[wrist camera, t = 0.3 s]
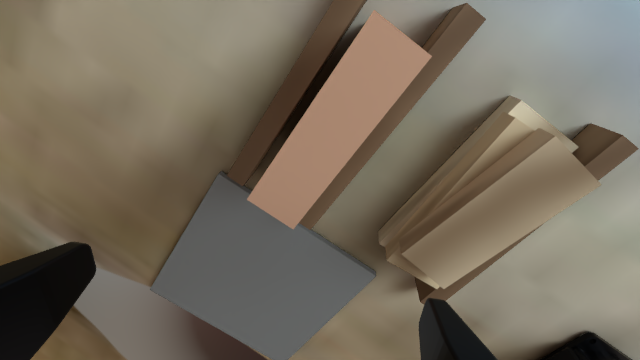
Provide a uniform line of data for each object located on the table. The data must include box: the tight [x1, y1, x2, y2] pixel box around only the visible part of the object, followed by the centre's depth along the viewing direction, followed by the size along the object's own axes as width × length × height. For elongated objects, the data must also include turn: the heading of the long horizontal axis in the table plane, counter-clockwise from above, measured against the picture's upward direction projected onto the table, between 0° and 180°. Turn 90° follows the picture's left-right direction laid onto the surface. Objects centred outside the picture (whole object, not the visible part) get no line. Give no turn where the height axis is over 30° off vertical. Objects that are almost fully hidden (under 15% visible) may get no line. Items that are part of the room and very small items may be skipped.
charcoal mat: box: [150, 171, 376, 360], centre depth 26 cm, size 14×14×1 cm
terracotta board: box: [247, 10, 432, 229], centre depth 16 cm, size 2×9×8 cm, turn 145°
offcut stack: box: [378, 96, 601, 289], centre depth 19 cm, size 5×12×4 cm, turn 146°
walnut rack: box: [227, 0, 638, 305], centre depth 19 cm, size 17×15×2 cm
